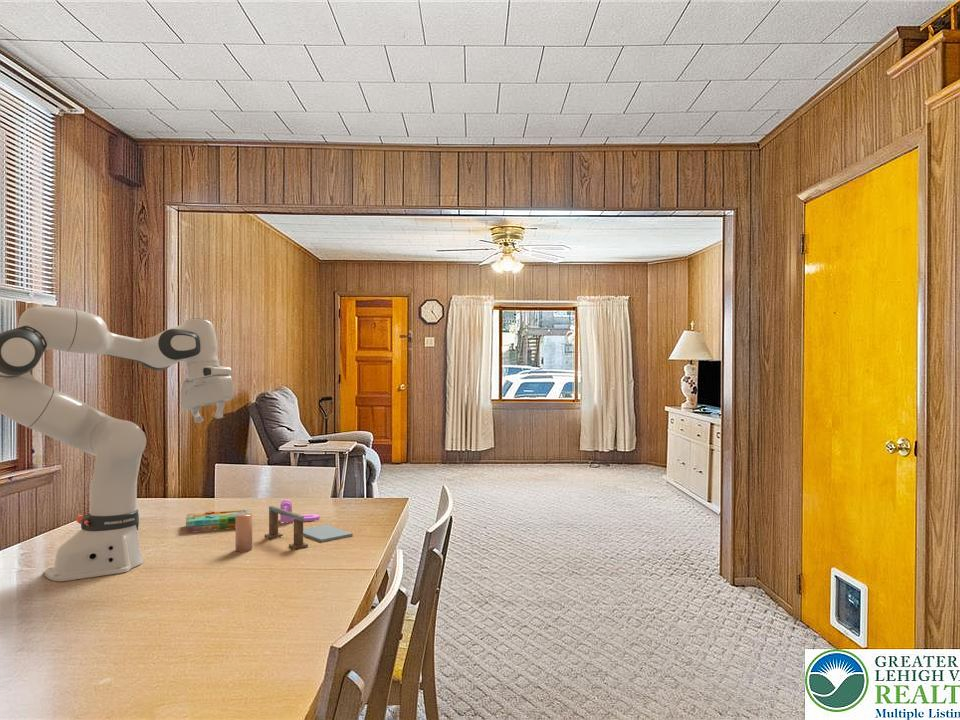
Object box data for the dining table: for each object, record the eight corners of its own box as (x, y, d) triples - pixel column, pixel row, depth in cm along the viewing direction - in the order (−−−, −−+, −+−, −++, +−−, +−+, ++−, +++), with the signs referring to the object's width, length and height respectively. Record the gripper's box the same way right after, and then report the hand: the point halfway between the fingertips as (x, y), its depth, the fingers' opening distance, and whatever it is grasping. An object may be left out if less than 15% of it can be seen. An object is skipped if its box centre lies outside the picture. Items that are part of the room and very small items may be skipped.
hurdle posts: (295, 549, 197) (295, 521, 197) (264, 536, 212) (264, 510, 212) (307, 546, 200) (308, 519, 200) (276, 534, 214) (276, 509, 214)
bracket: (280, 523, 230) (280, 503, 230) (280, 520, 235) (280, 500, 235) (319, 521, 233) (319, 501, 233) (319, 517, 239) (319, 497, 239)
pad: (321, 542, 205) (321, 539, 205) (295, 532, 217) (295, 530, 217) (352, 536, 212) (352, 533, 212) (326, 527, 224) (326, 524, 224)
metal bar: (299, 521, 198) (299, 516, 198) (268, 510, 213) (268, 506, 213) (303, 520, 199) (303, 516, 199) (272, 509, 214) (272, 505, 214)
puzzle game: (186, 512, 227) (249, 507, 234) (186, 526, 227) (249, 521, 234) (185, 519, 216) (252, 514, 224) (185, 534, 216) (252, 528, 224)
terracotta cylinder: (239, 552, 194) (239, 517, 194) (232, 549, 197) (232, 515, 197) (255, 549, 197) (255, 515, 197) (248, 546, 200) (248, 512, 200)
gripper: (172, 379, 203) (177, 425, 201) (216, 367, 192) (221, 416, 190) (191, 379, 208) (196, 424, 206) (235, 367, 197) (240, 415, 196)
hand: (208, 420), depth 198 cm, fingers open, 8 cm apart
